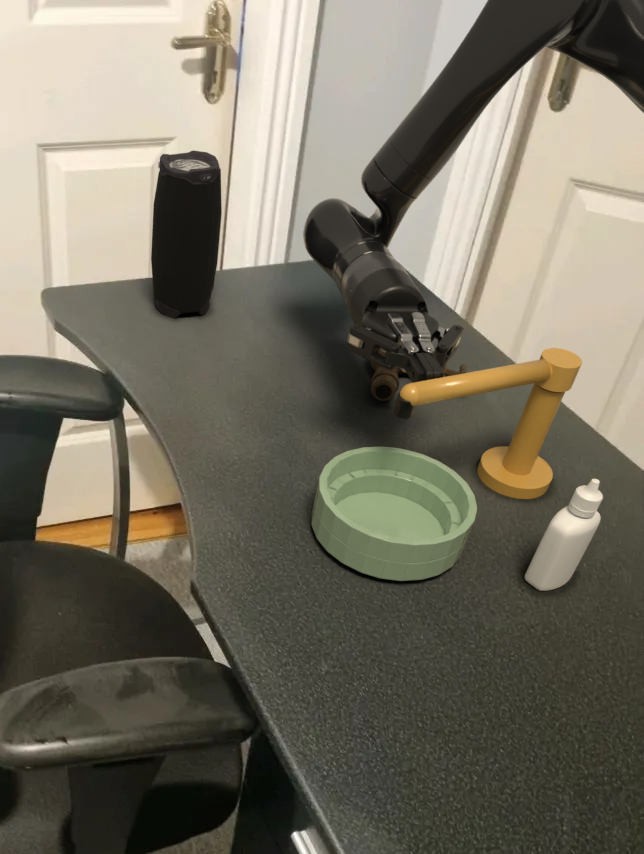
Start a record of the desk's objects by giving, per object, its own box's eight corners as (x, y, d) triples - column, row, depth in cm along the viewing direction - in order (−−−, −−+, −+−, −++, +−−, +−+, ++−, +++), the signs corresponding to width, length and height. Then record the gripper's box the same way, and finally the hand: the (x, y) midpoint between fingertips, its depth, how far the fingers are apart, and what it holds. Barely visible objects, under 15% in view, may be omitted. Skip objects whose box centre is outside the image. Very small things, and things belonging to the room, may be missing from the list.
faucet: (354, 365, 103) (474, 400, 102) (368, 298, 114) (476, 330, 114) (342, 397, 106) (457, 431, 106) (357, 329, 118) (462, 360, 117)
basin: (429, 484, 95) (443, 443, 91) (484, 581, 84) (502, 539, 80) (294, 491, 92) (302, 449, 89) (333, 591, 82) (344, 548, 78)
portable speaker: (138, 309, 119) (141, 160, 106) (174, 286, 125) (181, 142, 111) (190, 328, 117) (200, 177, 103) (224, 303, 122) (238, 158, 109)
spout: (552, 373, 91) (564, 345, 88) (578, 392, 88) (590, 364, 86) (382, 405, 84) (390, 376, 81) (405, 427, 81) (413, 398, 79)
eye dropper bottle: (513, 562, 87) (556, 466, 78) (565, 561, 87) (614, 466, 79) (529, 592, 83) (576, 496, 75) (583, 591, 84) (635, 495, 76)
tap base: (529, 455, 100) (568, 364, 92) (560, 497, 95) (604, 404, 86) (466, 458, 99) (499, 365, 91) (493, 501, 94) (532, 406, 85)
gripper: (330, 265, 91) (375, 347, 79) (447, 267, 93) (507, 348, 81) (318, 330, 97) (358, 416, 85) (428, 331, 99) (483, 415, 87)
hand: (431, 382), depth 83 cm, fingers closed
